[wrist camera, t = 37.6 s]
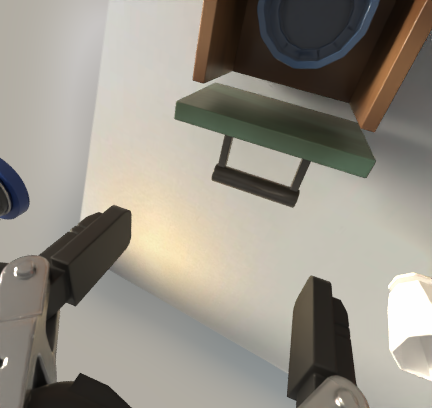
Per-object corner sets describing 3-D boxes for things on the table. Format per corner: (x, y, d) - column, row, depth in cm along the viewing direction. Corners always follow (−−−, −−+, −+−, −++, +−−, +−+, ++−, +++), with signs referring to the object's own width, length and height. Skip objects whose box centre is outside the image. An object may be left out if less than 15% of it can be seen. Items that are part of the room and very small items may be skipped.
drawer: (325, 188, 26) (328, 242, 19) (203, 148, 28) (166, 185, 21) (479, -117, 15) (616, -243, 8) (257, -150, 17) (217, -278, 10)
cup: (458, 264, 27) (503, 338, 20) (440, 330, 32) (472, 408, 25) (376, 261, 30) (393, 326, 23) (371, 322, 34) (384, 391, 28)
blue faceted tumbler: (260, 51, 21) (245, 56, 17) (287, -56, 18) (277, -86, 13) (339, 71, 20) (345, 81, 16) (383, -38, 17) (408, -64, 12)
